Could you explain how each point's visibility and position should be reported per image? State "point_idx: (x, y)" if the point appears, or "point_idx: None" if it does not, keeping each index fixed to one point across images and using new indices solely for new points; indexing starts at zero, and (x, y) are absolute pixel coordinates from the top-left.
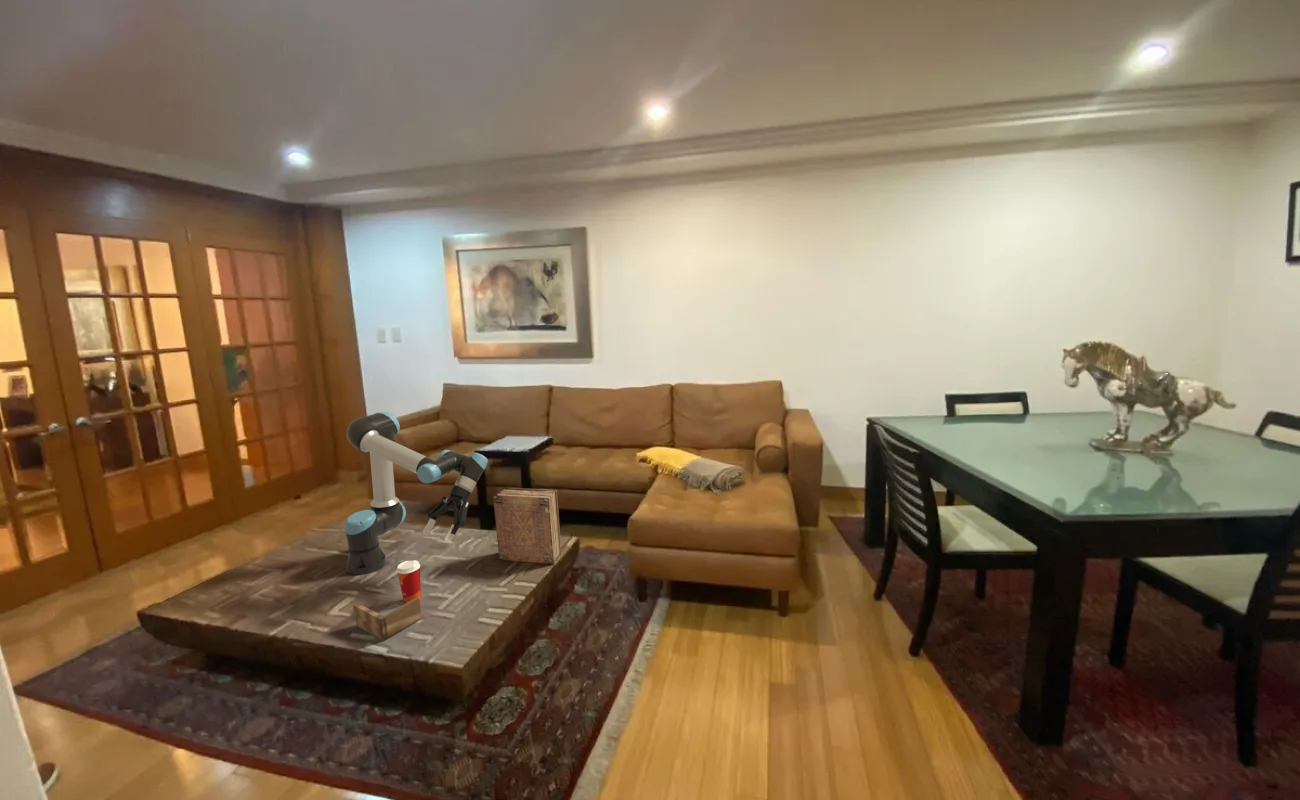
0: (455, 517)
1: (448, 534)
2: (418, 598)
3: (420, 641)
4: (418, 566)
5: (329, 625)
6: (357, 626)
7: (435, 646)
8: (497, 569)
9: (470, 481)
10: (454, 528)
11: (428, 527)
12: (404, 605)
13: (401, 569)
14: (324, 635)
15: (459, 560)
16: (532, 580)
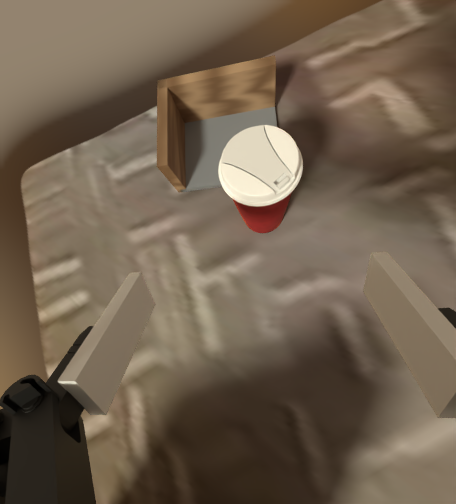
0: (29, 486)
1: (111, 305)
2: (159, 166)
3: (121, 159)
4: (228, 188)
5: (325, 69)
6: None
7: (88, 169)
8: (207, 454)
9: None
10: (67, 361)
11: (398, 309)
12: (162, 132)
13: (244, 130)
14: (295, 56)
15: (375, 438)
16: None
